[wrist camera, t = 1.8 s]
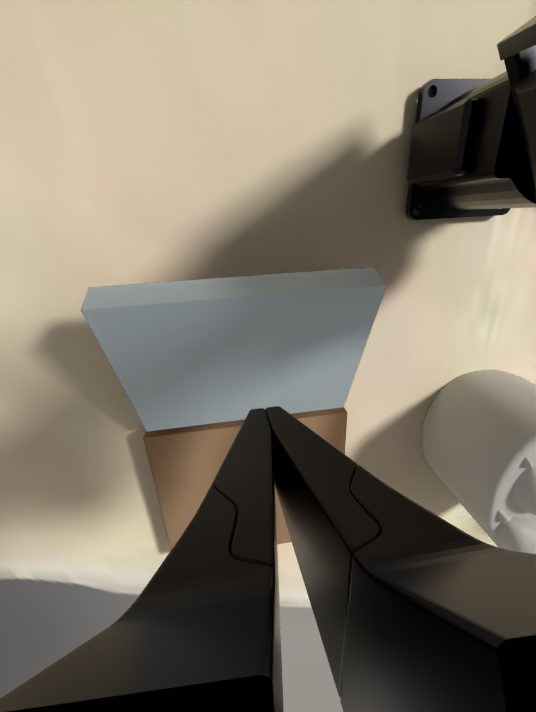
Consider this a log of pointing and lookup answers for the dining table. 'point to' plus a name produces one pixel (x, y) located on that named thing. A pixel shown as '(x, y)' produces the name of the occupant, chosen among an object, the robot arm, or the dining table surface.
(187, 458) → the walnut floor board
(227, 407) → the floor tile
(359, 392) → the dining table surface
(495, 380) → the lumpy-topped squat cylinder
